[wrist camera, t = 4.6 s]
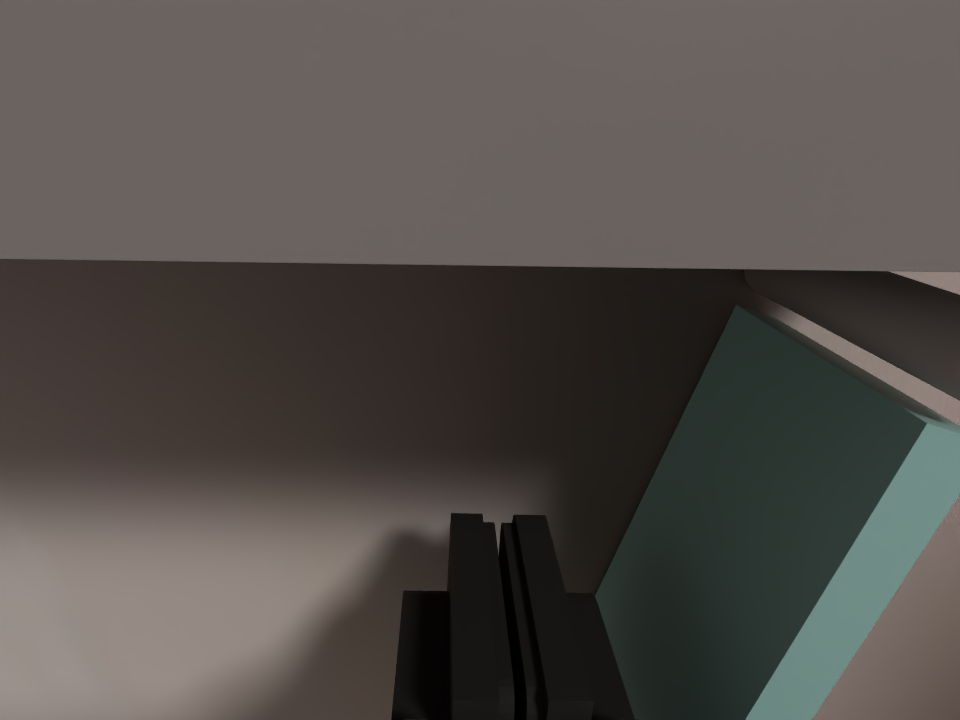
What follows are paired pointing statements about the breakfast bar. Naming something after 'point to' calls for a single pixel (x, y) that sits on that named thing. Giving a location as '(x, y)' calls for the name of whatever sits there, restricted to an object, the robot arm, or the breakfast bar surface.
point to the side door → (786, 502)
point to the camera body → (484, 132)
